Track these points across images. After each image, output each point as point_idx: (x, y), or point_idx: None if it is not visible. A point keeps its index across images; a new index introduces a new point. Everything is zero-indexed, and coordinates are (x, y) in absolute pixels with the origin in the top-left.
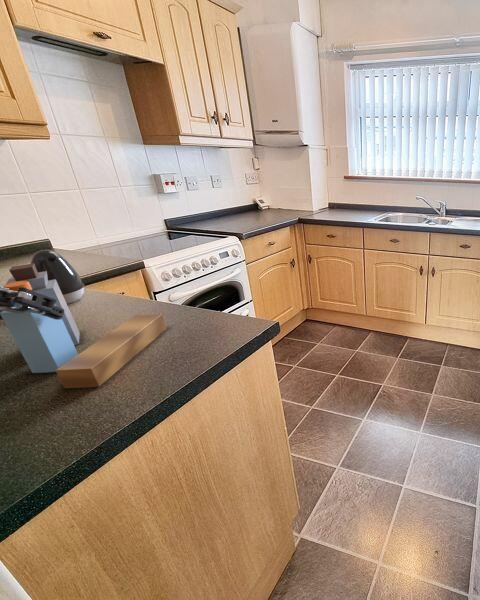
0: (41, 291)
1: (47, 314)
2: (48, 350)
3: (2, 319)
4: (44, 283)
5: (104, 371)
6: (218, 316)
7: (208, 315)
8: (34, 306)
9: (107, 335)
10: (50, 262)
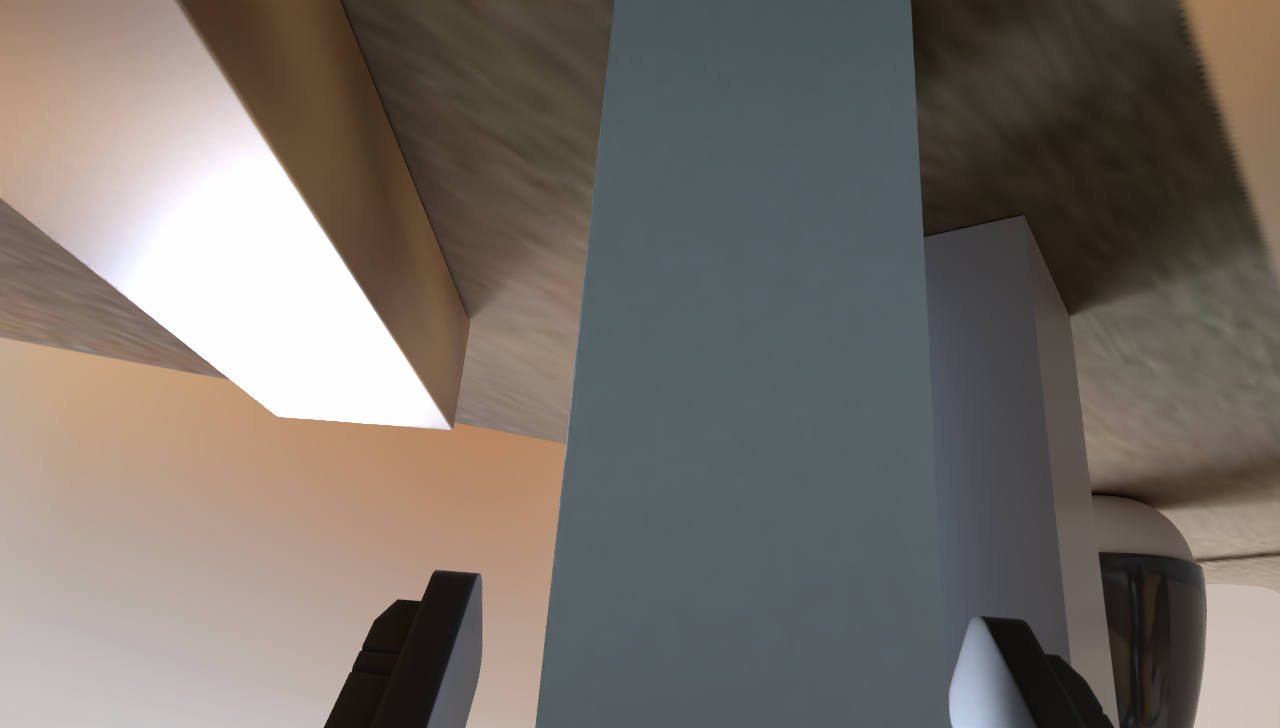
0: None
1: (379, 709)
2: (596, 207)
3: (1037, 678)
4: None
5: None
6: (120, 347)
7: (198, 360)
8: None
9: (360, 310)
10: None
